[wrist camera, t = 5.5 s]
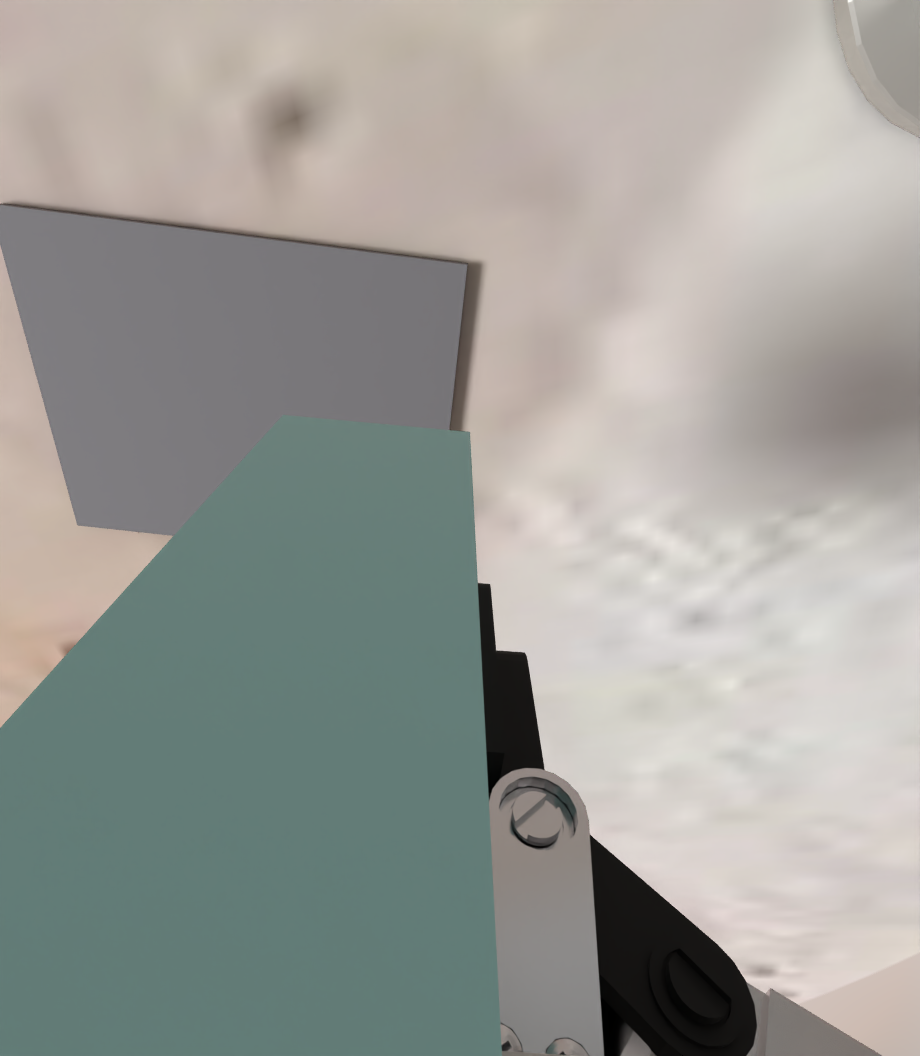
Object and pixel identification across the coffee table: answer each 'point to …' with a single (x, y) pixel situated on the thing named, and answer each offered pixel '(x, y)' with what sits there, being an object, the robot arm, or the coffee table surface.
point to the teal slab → (266, 777)
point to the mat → (214, 350)
